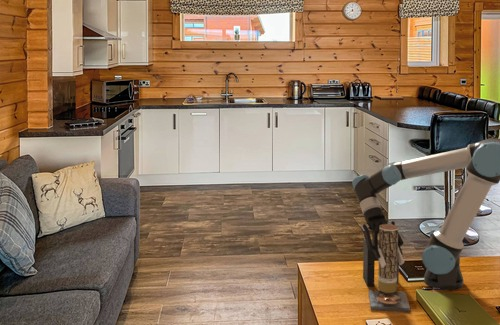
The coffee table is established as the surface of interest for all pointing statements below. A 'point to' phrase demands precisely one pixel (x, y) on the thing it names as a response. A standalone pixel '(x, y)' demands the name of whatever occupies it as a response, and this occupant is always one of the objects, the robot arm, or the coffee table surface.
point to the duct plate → (388, 301)
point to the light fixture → (371, 265)
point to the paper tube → (388, 258)
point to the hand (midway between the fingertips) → (393, 264)
